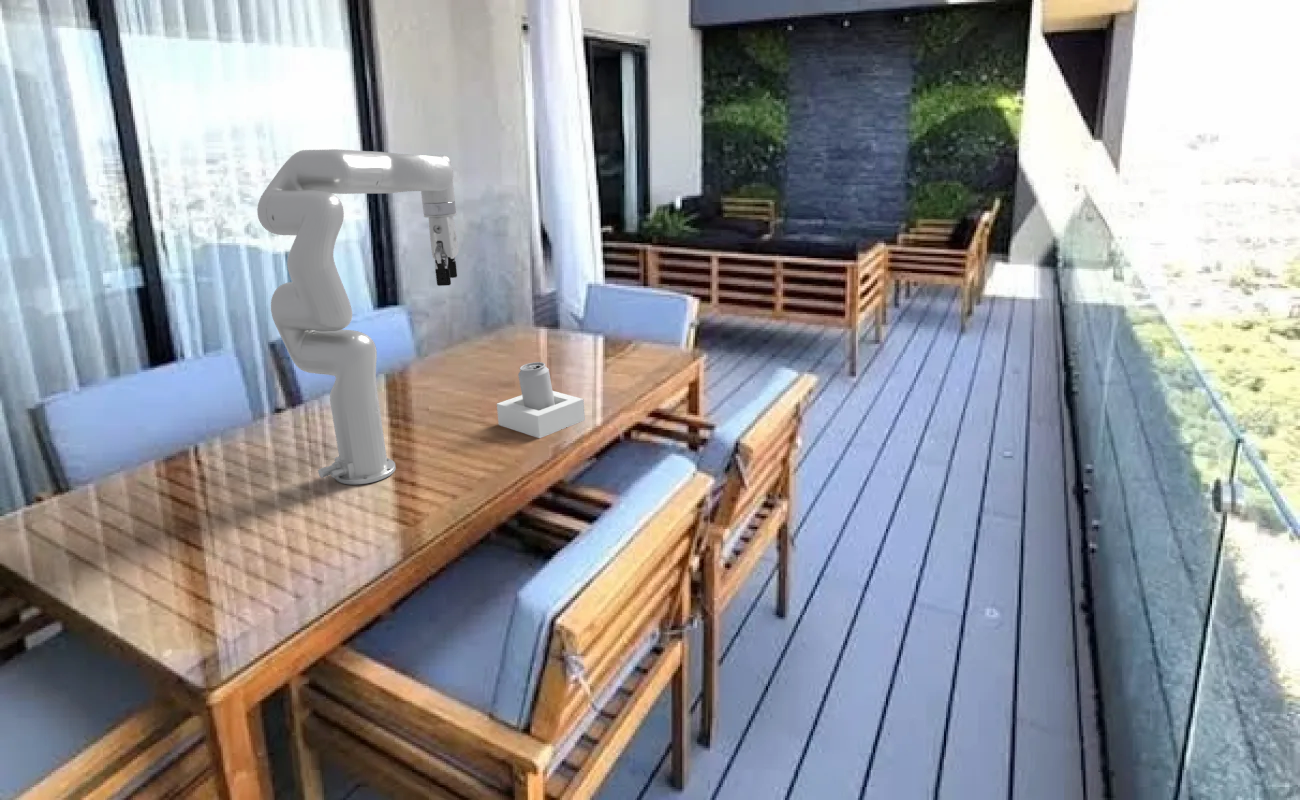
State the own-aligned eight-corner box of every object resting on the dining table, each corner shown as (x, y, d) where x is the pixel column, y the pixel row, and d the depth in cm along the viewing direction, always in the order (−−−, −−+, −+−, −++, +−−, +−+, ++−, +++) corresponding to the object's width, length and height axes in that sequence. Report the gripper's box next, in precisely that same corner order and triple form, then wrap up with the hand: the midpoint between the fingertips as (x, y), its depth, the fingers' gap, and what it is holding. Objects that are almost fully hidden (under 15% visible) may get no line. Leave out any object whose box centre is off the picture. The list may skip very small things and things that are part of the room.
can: (554, 415, 203) (546, 368, 199) (523, 419, 203) (514, 372, 199) (557, 404, 210) (549, 358, 206) (527, 408, 210) (519, 362, 206)
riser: (539, 440, 198) (537, 416, 196) (498, 426, 207) (496, 403, 205) (584, 421, 208) (583, 399, 206) (544, 409, 218) (542, 387, 216)
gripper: (449, 213, 190) (457, 287, 196) (460, 205, 207) (467, 274, 212) (416, 214, 190) (425, 289, 196) (430, 206, 206) (438, 275, 212)
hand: (447, 281), depth 204 cm, fingers open, 9 cm apart
